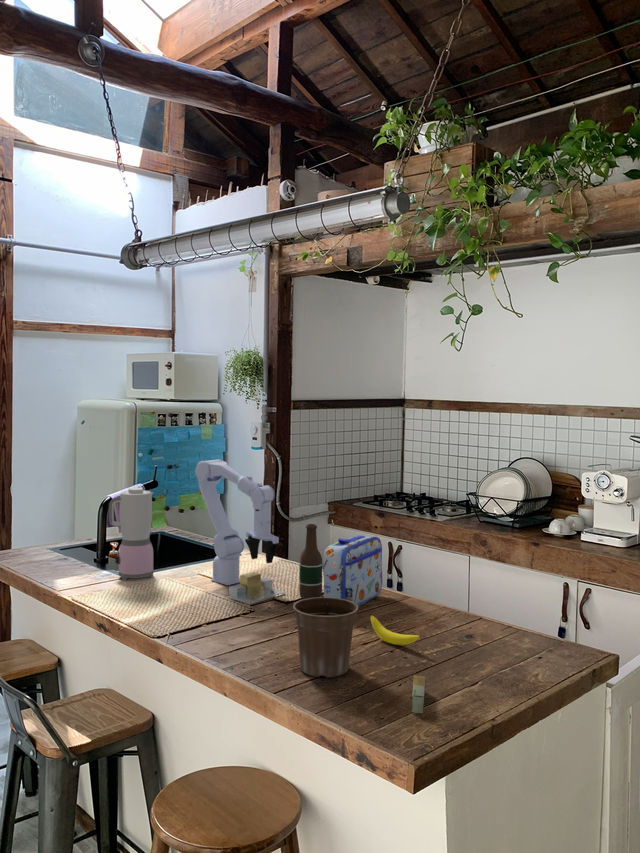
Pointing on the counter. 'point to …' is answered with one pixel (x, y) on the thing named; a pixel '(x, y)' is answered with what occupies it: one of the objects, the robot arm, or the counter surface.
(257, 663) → the counter surface
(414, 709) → the medication box
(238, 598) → the fixed leaf
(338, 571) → the lunch box
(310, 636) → the plant pot
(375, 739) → the counter surface
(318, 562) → the beer bottle
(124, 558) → the blender
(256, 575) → the pale gold block
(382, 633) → the banana
